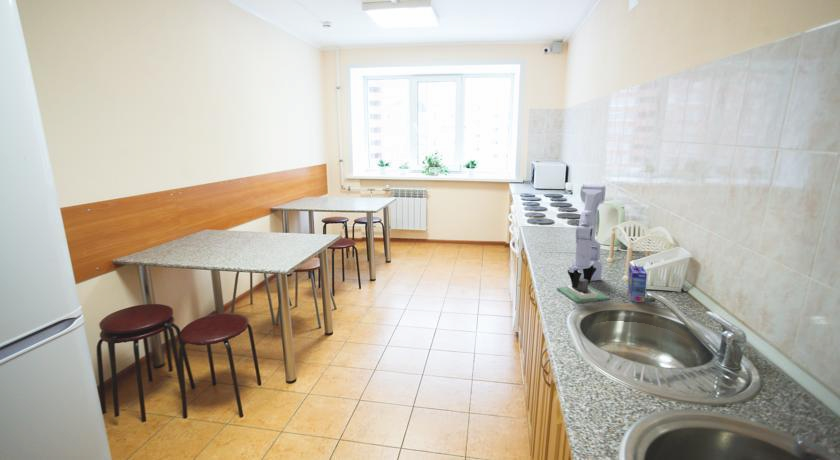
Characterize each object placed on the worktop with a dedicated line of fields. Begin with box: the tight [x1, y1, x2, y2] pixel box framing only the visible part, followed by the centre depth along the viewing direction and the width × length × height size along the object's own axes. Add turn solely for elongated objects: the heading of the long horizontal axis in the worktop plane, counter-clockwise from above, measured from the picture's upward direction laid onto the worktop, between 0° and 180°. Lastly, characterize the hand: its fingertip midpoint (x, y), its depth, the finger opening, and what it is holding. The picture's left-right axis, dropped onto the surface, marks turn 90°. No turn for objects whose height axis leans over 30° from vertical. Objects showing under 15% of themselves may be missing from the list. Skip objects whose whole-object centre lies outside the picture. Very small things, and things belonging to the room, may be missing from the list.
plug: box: [572, 277, 589, 294], centre depth 169 cm, size 4×6×6 cm, turn 32°
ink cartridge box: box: [627, 262, 648, 303], centre depth 164 cm, size 10×6×14 cm, turn 161°
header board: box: [556, 284, 611, 304], centre depth 170 cm, size 15×15×3 cm
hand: (580, 285), depth 169 cm, fingers open, 7 cm apart
